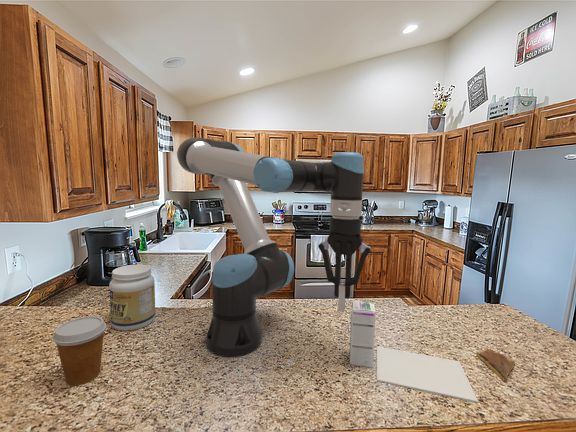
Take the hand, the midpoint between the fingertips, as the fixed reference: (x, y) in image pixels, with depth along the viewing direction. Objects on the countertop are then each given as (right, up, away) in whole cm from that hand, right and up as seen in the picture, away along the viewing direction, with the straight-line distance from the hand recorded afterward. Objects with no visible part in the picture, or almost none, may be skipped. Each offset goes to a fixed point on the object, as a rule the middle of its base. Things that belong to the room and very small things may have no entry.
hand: (341, 309), depth 73 cm
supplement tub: (-61, -9, +16) cm, 64 cm away
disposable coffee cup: (-59, -12, -9) cm, 61 cm away
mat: (+18, -14, -4) cm, 23 cm away
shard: (+40, -15, -1) cm, 43 cm away
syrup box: (+5, -13, 0) cm, 14 cm away
